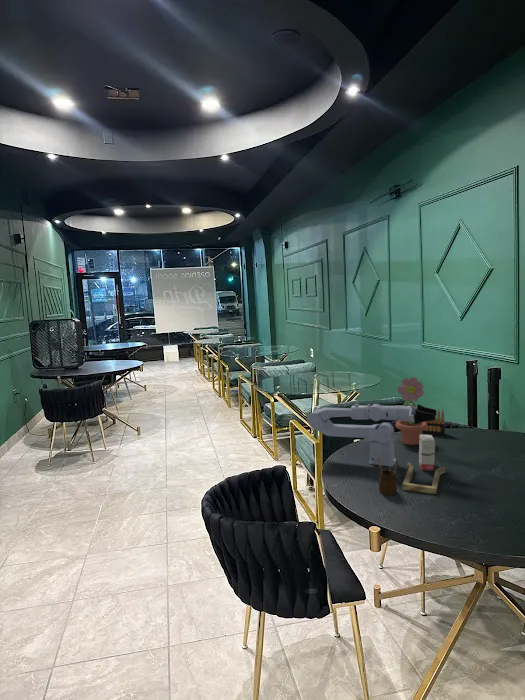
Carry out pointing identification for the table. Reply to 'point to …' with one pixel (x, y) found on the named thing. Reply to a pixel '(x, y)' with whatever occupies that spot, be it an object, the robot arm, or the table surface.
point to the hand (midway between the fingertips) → (435, 414)
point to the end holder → (421, 488)
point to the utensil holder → (387, 481)
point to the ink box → (426, 452)
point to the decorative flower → (411, 393)
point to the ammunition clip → (436, 425)
